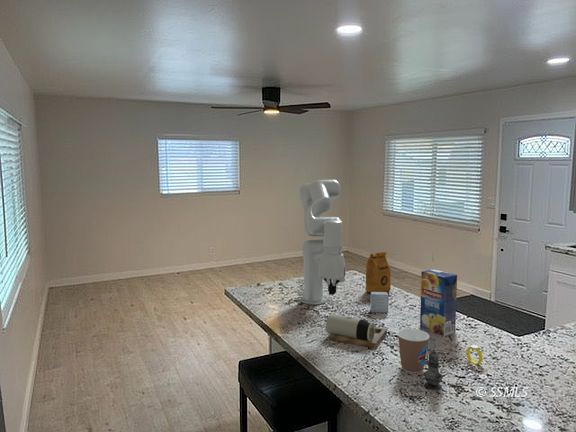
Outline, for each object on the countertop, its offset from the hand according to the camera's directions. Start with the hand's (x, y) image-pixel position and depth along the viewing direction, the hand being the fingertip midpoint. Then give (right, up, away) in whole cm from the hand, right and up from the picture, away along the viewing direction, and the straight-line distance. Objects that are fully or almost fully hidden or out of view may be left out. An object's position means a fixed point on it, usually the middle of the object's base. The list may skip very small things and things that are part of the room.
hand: (332, 294), depth 175 cm
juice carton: (+44, -16, +3) cm, 47 cm away
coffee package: (+31, -10, +57) cm, 65 cm away
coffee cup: (+24, -20, -32) cm, 44 cm away
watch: (+46, -19, -28) cm, 57 cm away
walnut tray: (+10, -16, -4) cm, 19 cm away
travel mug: (-1, -12, -2) cm, 12 cm away
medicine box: (+25, -13, +26) cm, 38 cm away
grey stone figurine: (+27, -21, -43) cm, 55 cm away
